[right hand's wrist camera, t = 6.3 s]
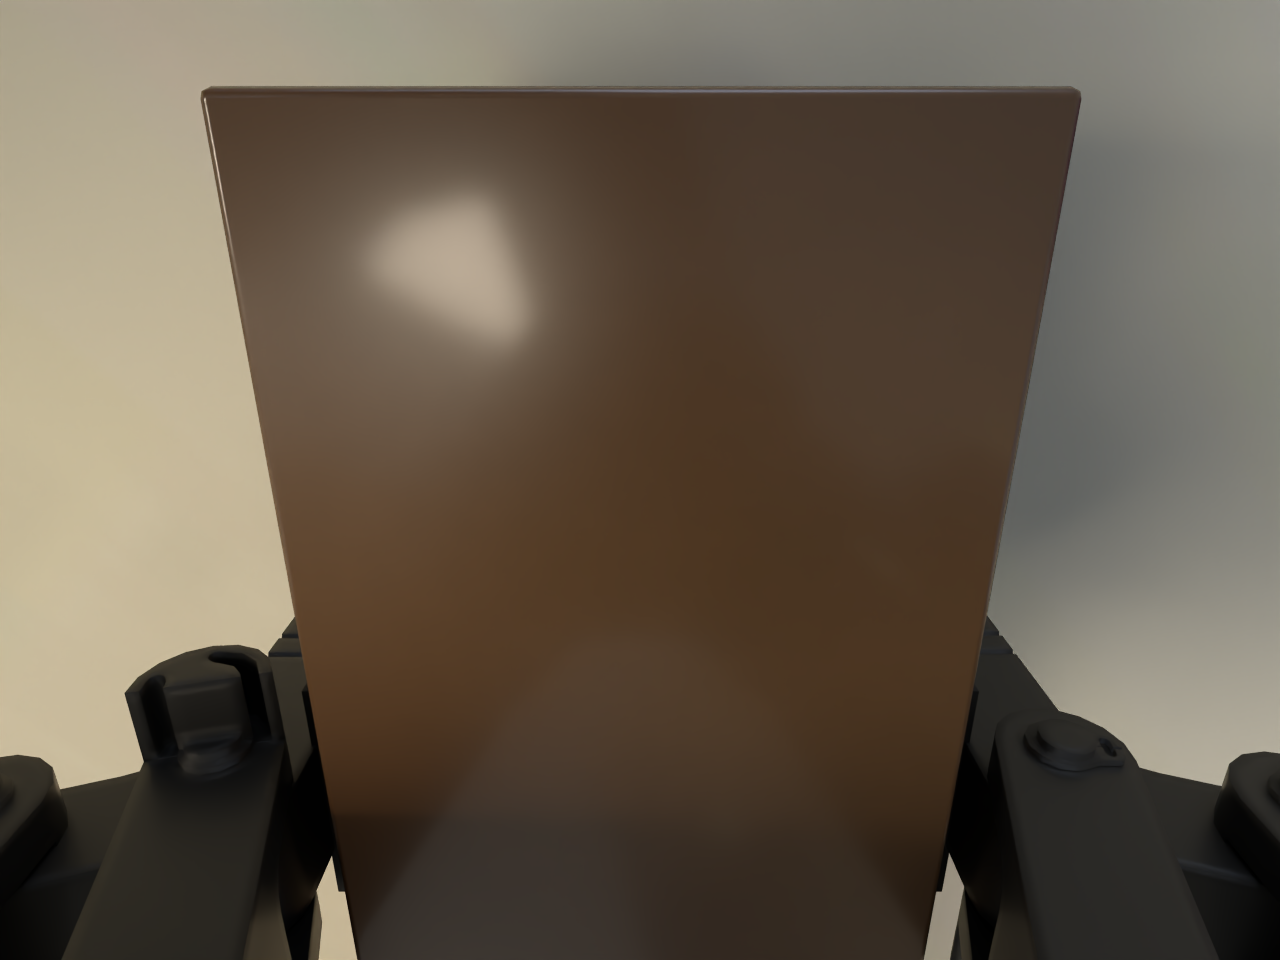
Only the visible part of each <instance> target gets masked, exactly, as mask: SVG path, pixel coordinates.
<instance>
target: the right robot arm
mask: <svg viewBox="0 0 1280 960" xmlns="http://www.w3.org/2000/svg"><path fill="white" fill-rule="evenodd" d="M125 697H126V700H127V704H128V707H129V711H130V714H131V718H132V721H133V725H134V728H135V732H136V735H137V739H138V742H139V746H140V750H141V753H142V757H143V760H144V763H143V765H142V768H141V770H140V772H136V773H132V774H129V775H125V776H121V777H117V778H112V779H107V780H103V781H98V782H93V783H88V784H84V785H79V786H74V787H70V788H65V789H60V788H59V785H58V782H57V779H56V776H55V773H54V770H53V767H51V766H50V765H49V764H47V763H46V762H45V761H43V760H42V759H41V758H38V757H30V756H22V755H14V756H6V757H0V960H318V959H319V949H320V938H321V928H322V919H321V912H320V906H319V901H318V896H317V891H316V890H317V888H318V886H319V883H320V881H321V879H322V877H323V874H324V872H325V870H326V867H327V865H328V863H329V861H330V858H331V856H332V858H333V864H334V869H335V874H336V880H337V885H338V891H345V888H344V883H343V877H342V872H341V866H340V861H339V855H338V850H337V844H336V839H335V833H334V828H333V823H332V817H331V812H330V806H329V801H328V795H327V790H326V784H325V779H324V773H323V768H322V762H321V757H320V751H319V746H318V740H317V735H316V729H315V724H314V718H313V713H312V707H311V702H310V696H309V691H308V685H307V680H306V674H305V669H304V663H303V658H302V652H301V647H300V641H299V636H298V630H297V625H296V619H295V617H294V619H293V620H292V621H291V623H290V624H289V626H288V627H287V628H286V630H285V631H284V632H283V634H282V638H279V639H278V640H277V642H276V643H275V644H274V646H273V647H272V648H271V650H270V651H269V655H268V657H267V656H266V655H265V654H264V653H262V652H261V651H260V650H258V649H254V648H250V647H245V646H241V645H226V646H211V647H207V648H202V649H198V650H194V651H189V652H185V653H183V654H180V655H178V656H176V657H173V658H171V659H168V660H166V661H163V662H161V663H159V664H157V665H156V666H154V667H153V668H151V669H150V670H148V671H147V672H145V673H144V674H142V675H141V676H139V677H138V678H137V679H136V680H135V681H134V683H133V684H132V685H131V686H130V687H129V689H128V690H127V691H126V692H125ZM949 853H950V855H951V858H952V860H953V862H954V865H955V867H956V869H957V871H958V874H959V876H960V878H961V880H962V883H963V885H964V891H963V896H962V901H961V906H960V911H959V916H958V921H957V926H956V931H955V936H954V941H953V946H952V951H951V957H950V960H1280V754H1279V753H1271V752H1257V753H1249V754H1242V755H1240V756H1239V757H1238V758H1236V759H1235V760H1234V761H1232V762H1231V763H1230V764H1229V766H1228V769H1227V772H1226V775H1225V778H1224V781H1223V784H1222V786H1218V785H1213V784H1208V783H1204V782H1199V781H1194V780H1189V779H1185V778H1180V777H1175V776H1170V775H1166V774H1161V773H1157V772H1153V771H1150V770H1146V769H1143V768H1139V766H1138V764H1137V761H1136V760H1135V758H1134V757H1133V756H1132V754H1131V753H1130V751H1129V750H1128V749H1127V747H1126V746H1125V744H1124V743H1123V742H1121V741H1120V740H1119V739H1117V738H1116V737H1115V736H1113V735H1112V734H1111V733H1109V732H1108V731H1107V730H1105V729H1104V728H1102V727H1100V726H1098V725H1096V724H1094V723H1092V722H1090V721H1088V720H1085V719H1083V718H1081V717H1079V716H1076V715H1072V714H1068V713H1064V712H1060V711H1058V709H1057V708H1056V707H1055V705H1054V704H1053V703H1052V701H1051V700H1050V699H1049V697H1048V696H1047V695H1046V693H1045V692H1044V691H1043V689H1042V688H1041V687H1040V685H1039V684H1038V683H1037V681H1036V680H1035V679H1034V678H1033V676H1032V675H1031V674H1030V672H1029V671H1028V670H1027V668H1026V667H1025V666H1024V664H1023V663H1022V662H1021V660H1020V659H1019V658H1018V656H1017V655H1016V654H1013V652H1012V648H1011V647H1010V646H1009V644H1008V643H1007V642H1006V640H1005V639H1004V638H1003V636H999V631H998V630H997V628H996V627H995V626H994V624H993V623H992V622H991V620H990V619H989V618H988V616H986V622H985V627H984V633H983V638H982V644H981V649H980V655H979V660H978V666H977V671H976V676H975V682H974V687H973V693H972V698H971V704H970V709H969V715H968V720H967V726H966V731H965V737H964V742H963V747H962V753H961V758H960V764H959V769H958V775H957V780H956V786H955V791H954V797H953V802H952V808H951V813H950V818H949V824H948V829H947V835H946V840H945V846H944V851H943V857H942V862H941V868H940V873H939V878H938V884H937V889H936V892H942V888H943V883H944V877H945V872H946V867H947V861H948V856H949Z"/></svg>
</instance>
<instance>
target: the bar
mask: <svg viewBox="0 0 1280 960" xmlns="http://www.w3.org/2000/svg"><path fill="white" fill-rule="evenodd" d="M201 103H202V109H203V114H204V120H205V125H206V131H207V136H208V142H209V147H210V153H211V158H212V164H213V169H214V175H215V180H216V186H217V191H218V197H219V202H220V208H221V213H222V218H223V224H224V229H225V235H226V240H227V246H228V251H229V257H230V262H231V268H232V273H233V279H234V284H235V290H236V295H237V301H238V306H239V312H240V317H241V323H242V328H243V334H244V339H245V345H246V350H247V356H248V361H249V367H250V372H251V378H252V383H253V389H254V394H255V400H256V405H257V411H258V416H259V422H260V427H261V433H262V438H263V444H264V449H265V455H266V460H267V466H268V471H269V477H270V482H271V488H272V493H273V499H274V504H275V510H276V515H277V520H278V526H279V531H280V537H281V542H282V548H283V553H284V559H285V564H286V570H287V575H288V581H289V586H290V592H291V597H292V603H293V608H294V614H295V619H296V625H297V630H298V636H299V641H300V647H301V652H302V658H303V663H304V669H305V674H306V680H307V685H308V691H309V696H310V702H311V707H312V713H313V718H314V724H315V729H316V735H317V740H318V746H319V751H320V757H321V762H322V768H323V773H324V779H325V784H326V790H327V795H328V801H329V806H330V812H331V817H332V823H333V828H334V833H335V839H336V844H337V850H338V855H339V861H340V866H341V872H342V877H343V883H344V888H345V894H346V899H347V905H348V910H349V916H350V921H351V927H352V932H353V938H354V943H355V949H356V954H357V960H924V955H925V949H926V944H927V939H928V933H929V928H930V922H931V917H932V911H933V906H934V900H935V895H936V889H937V884H938V878H939V873H940V868H941V862H942V857H943V851H944V846H945V840H946V835H947V829H948V824H949V818H950V813H951V808H952V802H953V797H954V791H955V786H956V780H957V775H958V769H959V764H960V758H961V753H962V747H963V742H964V737H965V731H966V726H967V720H968V715H969V709H970V704H971V698H972V693H973V687H974V682H975V676H976V671H977V666H978V660H979V655H980V649H981V644H982V638H983V633H984V627H985V622H986V616H987V611H988V606H989V600H990V595H991V589H992V584H993V578H994V573H995V567H996V562H997V556H998V551H999V545H1000V540H1001V535H1002V529H1003V524H1004V518H1005V513H1006V507H1007V502H1008V496H1009V491H1010V485H1011V480H1012V474H1013V469H1014V464H1015V458H1016V453H1017V447H1018V442H1019V436H1020V431H1021V425H1022V420H1023V414H1024V409H1025V403H1026V398H1027V393H1028V387H1029V382H1030V376H1031V371H1032V365H1033V360H1034V354H1035V349H1036V343H1037V338H1038V333H1039V327H1040V322H1041V316H1042V311H1043V305H1044V300H1045V294H1046V289H1047V283H1048V278H1049V272H1050V267H1051V262H1052V256H1053V251H1054V245H1055V240H1056V234H1057V229H1058V223H1059V218H1060V212H1061V207H1062V201H1063V196H1064V191H1065V185H1066V180H1067V174H1068V169H1069V163H1070V158H1071V152H1072V147H1073V141H1074V136H1075V131H1076V125H1077V120H1078V114H1079V109H1080V103H1081V93H1080V91H1079V90H1077V89H1075V88H1073V87H1046V86H1043V87H1041V86H211V87H209V88H207V89H205V90H203V91H202V93H201Z"/></svg>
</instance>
